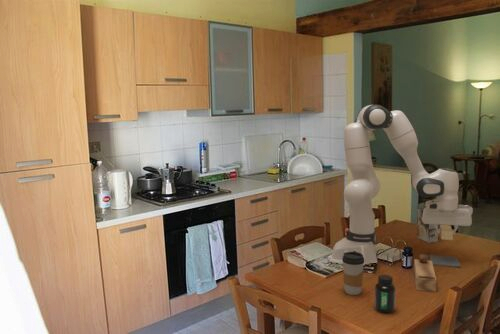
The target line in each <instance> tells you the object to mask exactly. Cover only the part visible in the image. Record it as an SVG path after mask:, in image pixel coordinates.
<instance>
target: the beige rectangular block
mask: <svg viewBox="0 0 500 334" xmlns="http://www.w3.org/2000/svg"><path fill="white" fill-rule="evenodd" d="M439 229H440V230H441V234H439V236H440V239H441V240H446V241H453V240H454V235H453V230H454V229H452V225H439Z"/></svg>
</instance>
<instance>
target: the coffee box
mask: <svg viewBox="0 0 500 334" xmlns="http://www.w3.org/2000/svg"><path fill="white" fill-rule="evenodd" d="M424 208H425V207H421V208H418V209H417V232H416V235H417V236H416V237H417V239H418V240H420V241H424V242H426V243H428V244H429V243H430V244H431V243H436V242H438V241H439V238H438V237H439V234H437V229H436V228H435V226H434V224H424V223H423V222H422V215H423V210H424ZM437 228H438V229H439V226H438V227H437Z"/></svg>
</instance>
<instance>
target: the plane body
mask: <svg viewBox="0 0 500 334" xmlns="http://www.w3.org/2000/svg"><path fill="white" fill-rule="evenodd" d="M428 259H429V254H425V253H419V259H417V258H415V259H414V260H413V261H414V262H413V274H414V281H415V282H414V283H415V288H416V291H421V292H432V293H437V277H436V273H435V268H434V265H433V264H432V261H430V260H428Z"/></svg>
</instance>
